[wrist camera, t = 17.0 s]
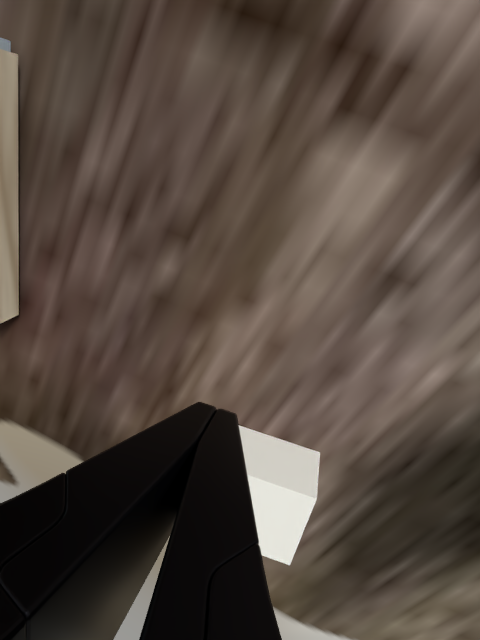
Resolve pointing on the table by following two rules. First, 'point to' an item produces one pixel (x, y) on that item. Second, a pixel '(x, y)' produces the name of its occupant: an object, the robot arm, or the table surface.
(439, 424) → the table surface
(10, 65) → the tray
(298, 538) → the pedestal
